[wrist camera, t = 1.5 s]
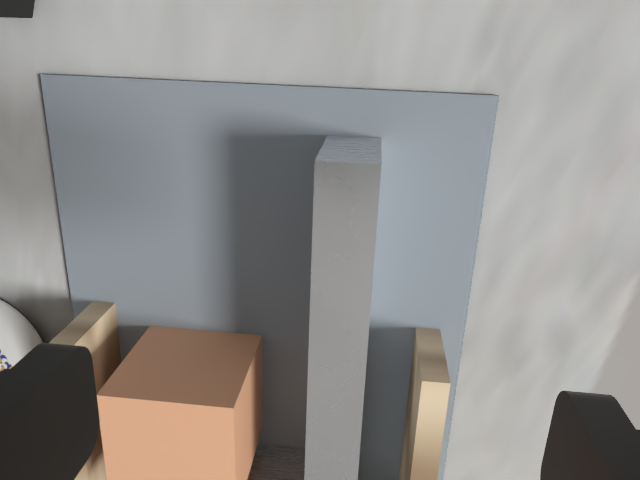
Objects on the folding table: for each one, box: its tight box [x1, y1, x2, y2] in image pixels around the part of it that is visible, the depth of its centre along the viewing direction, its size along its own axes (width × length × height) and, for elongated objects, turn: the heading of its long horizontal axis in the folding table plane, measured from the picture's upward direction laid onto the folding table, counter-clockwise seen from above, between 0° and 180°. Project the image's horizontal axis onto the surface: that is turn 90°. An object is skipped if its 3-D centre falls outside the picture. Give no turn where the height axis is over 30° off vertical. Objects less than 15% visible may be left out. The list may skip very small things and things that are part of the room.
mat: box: [40, 74, 499, 480], centre depth 24 cm, size 20×17×1 cm
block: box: [97, 326, 262, 480], centre depth 23 cm, size 5×5×5 cm
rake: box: [247, 135, 382, 480], centre depth 22 cm, size 16×10×4 cm, turn 178°
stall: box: [49, 301, 451, 480], centre depth 24 cm, size 10×15×4 cm, turn 88°
